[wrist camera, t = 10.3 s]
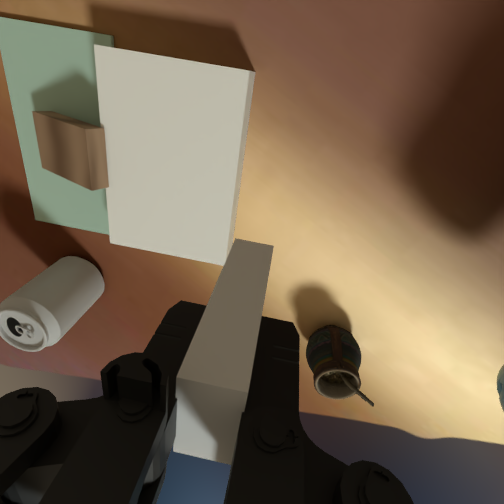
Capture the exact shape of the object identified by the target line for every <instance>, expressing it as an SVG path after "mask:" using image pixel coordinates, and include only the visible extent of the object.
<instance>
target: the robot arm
mask: <svg viewBox="0 0 504 504" xmlns="http://www.w3.org/2000/svg"><path fill="white" fill-rule="evenodd" d="M273 247H274V246H272V245H266V244H261V243H256V242H251V241H246V240H241V239H236V238H235V241H234V243H233V245H232V248H231V250H230V253H229V255H228V257H227V260H226V262H225V264H224V267H223V269H222V271H221V274H220V276H219V278H218V281H217V283H216V285H215V288H214V290H213V292H212V295H211V297H210V299H209V302H208V304H207V306H205V305H201V304H196V303H191V302H186V301H180V302H178V303H177V304H175V305H174V306H173V307H171V308H170V309H169V310H168V311H167V313H166V315H165V316H164V318H163V320H162V321H161V324H160V325H159V327H158V328H157V330H156V332H155V335H153V337H152V338H151V340H150V342H149V344H148V345H147V347H146V349H145V350H144V352H143V353H136V352H135V353H131V354H126V355H122V356H120V357H118V358H116V359H115V360H113V361H111V362H109V363H108V364H107V365H106V366H105V367H104V368H103V369H102V370H101V371H100V373H101V380H102V388H103V396H101V397H98V398H92V399H86V400H74V401H64V402H57V400H56V397H55V396H54V395H53V394H52V393H51V392H50V391H49V390H46V389H42V388H39V387H33V388H22V389H19V390H16V391H13V392H10V393H8V394H6V395H4V396H3V397H1V398H0V504H156V502H157V499H158V496H159V494H160V490H161V488H162V485H163V482H164V479H165V473H166V464H167V459H168V457H169V454H170V451H171V448H172V446H173V443H174V448H173V451H174V452H179V453H183V454H187V455H191V456H196V457H200V458H204V459H209V460H213V461H217V462H221V463H226V464H230V465H231V470H230V475H229V480H228V485H227V490H226V495H225V500H224V504H414V503H413V501H412V499H411V497H410V495H409V494H408V492H407V491H406V489H405V487H404V486H403V484H402V483H401V482H400V481H399V480H398V479H397V478H396V477H395V476H394V475H393V474H392V473H391V472H390V471H389V470H388V469H386V468H384V467H382V466H380V465H379V464H377V463H374V462H369V461H363V460H362V461H358V462H355V463H352V464H351V465H350V466H348V465H346V464H344V463H343V462H341V461H339V460H338V459H336V458H334V457H333V456H331V455H329V454H327V453H326V452H324V451H323V450H322V449H320V448H319V447H317V446H316V445H315V444H314V443H313V442H312V441H311V440H310V439H309V437H308V436H307V434H306V433H305V431H304V430H303V427H302V424H301V422H300V417H299V334H298V332H297V330H296V328H295V326H294V324H293V322H288V321H283V320H278V319H273V318H269V317H264V316H262V310H263V305H264V299H265V293H266V287H267V281H268V276H269V270H270V264H271V258H272V253H273ZM497 390H498V393H499V399H500V403H501V406H502V409H503V411H504V365H503V366H502V367H501V369H500V371H499V373H498V376H497Z"/></svg>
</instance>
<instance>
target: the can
mask: <svg viewBox="0 0 504 504" xmlns="http://www.w3.org/2000/svg"><path fill="white" fill-rule="evenodd" d="M104 285H105V284H104V280H103V277H102V275H101V273H100V272H99V270H98V269H97V268H96V267H95V266H94V265H93V264H92V263H90V262H89V261H87V260H85V259H82V258H79V257H75V256H67V257H63V258H61V259H59V260H58V261H57V262H55V263H54V264H53V265H51V266H50V267H49V268H47V269H46V270H44V271H43V272H42V273H40V274H39V275H38V276H36V277H35V278H33V279H32V280H31V281H29V282H28V283H27V284H25V285H24V286H23V287H21V288H20V289H18V290H17V291H16V292H14V293H13V294H12V295H10V296H9V297H8V298H6V299H5V300H4V301H2V302H1V304H0V336H1V337H2V338H3V339H4V340H5V341H6V342H8V343H9V344H10V345H12V346H14V347H16V348H18V349H21V350H24V351H30V352H35V351H40V350H42V349H43V348H45V347H46V346H52V345H54V344H55V343H57V342H58V341H59V340H60V339H61V338H62V337H63V336H64V335H65V333H66V332H67V331H68V330H69V329H70V328H71V327H72V326H73V325H74V324H75V323H76V322H77V321H78V320H79V319H80V317H81V316H82V315H83V314H84V313H85V312H86V311H87V310H88V309H89V308H90V307H91V306H92V305H93V304H94V303H95V301H96V300H97V299H98V298H99V297H100V296H101V295H102V293H103V291H104Z"/></svg>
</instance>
